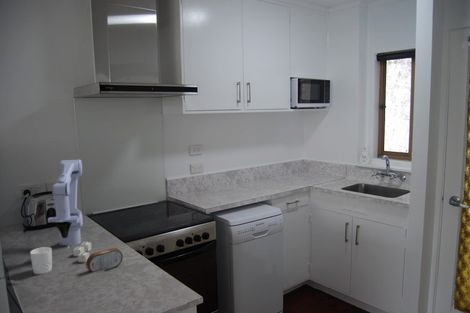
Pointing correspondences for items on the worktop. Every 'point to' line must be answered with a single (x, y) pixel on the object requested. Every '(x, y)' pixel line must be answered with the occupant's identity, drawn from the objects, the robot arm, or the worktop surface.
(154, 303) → the worktop surface
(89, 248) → the light grey block
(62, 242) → the robot arm
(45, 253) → the white cup
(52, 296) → the worktop surface
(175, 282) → the worktop surface
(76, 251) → the tab
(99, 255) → the tin
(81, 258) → the tab
